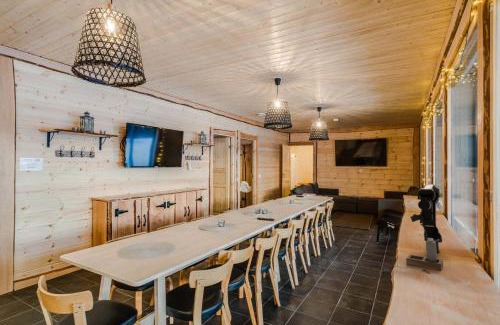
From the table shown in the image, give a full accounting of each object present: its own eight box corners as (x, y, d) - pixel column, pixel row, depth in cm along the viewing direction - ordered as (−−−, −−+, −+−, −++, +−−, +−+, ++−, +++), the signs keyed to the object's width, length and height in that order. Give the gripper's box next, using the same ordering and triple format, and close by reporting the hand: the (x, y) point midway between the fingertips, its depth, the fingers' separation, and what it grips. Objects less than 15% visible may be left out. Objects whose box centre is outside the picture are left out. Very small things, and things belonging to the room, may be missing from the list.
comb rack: (409, 260, 155) (409, 254, 155) (443, 266, 144) (442, 259, 144) (406, 264, 148) (406, 258, 148) (441, 270, 138) (440, 264, 138)
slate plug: (430, 264, 147) (428, 237, 148) (439, 266, 143) (437, 238, 143) (425, 265, 145) (423, 238, 145) (434, 268, 141) (432, 240, 141)
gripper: (409, 208, 169) (410, 234, 167) (411, 209, 153) (412, 237, 151) (431, 210, 164) (432, 236, 162) (435, 210, 148) (436, 240, 146)
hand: (427, 237), depth 155 cm, fingers open, 9 cm apart
